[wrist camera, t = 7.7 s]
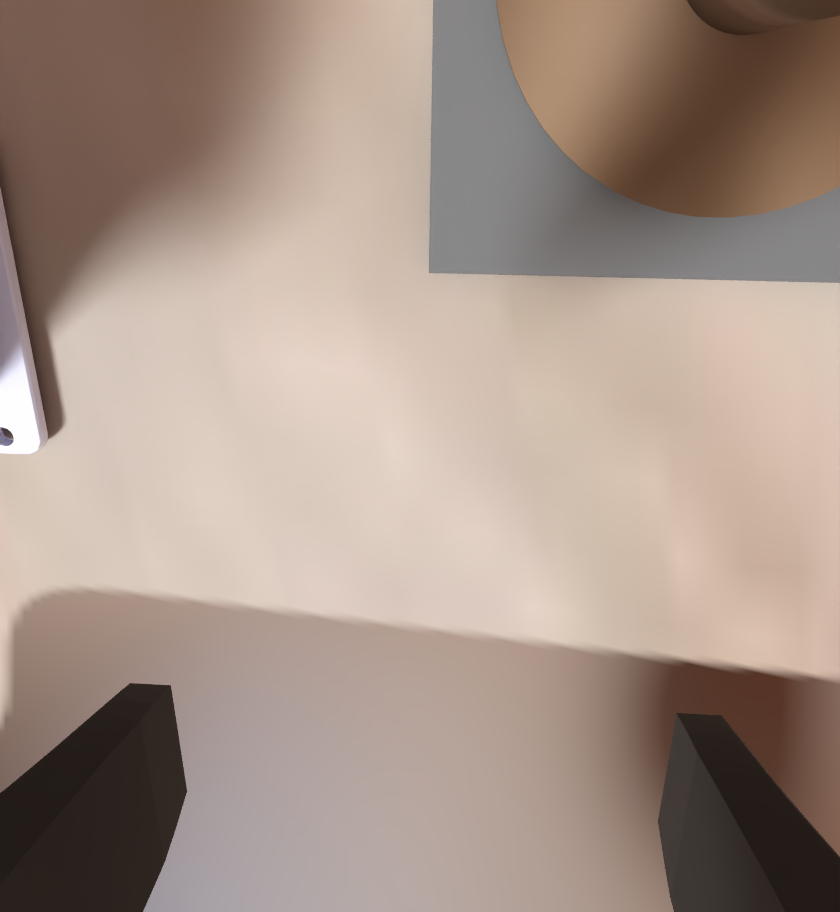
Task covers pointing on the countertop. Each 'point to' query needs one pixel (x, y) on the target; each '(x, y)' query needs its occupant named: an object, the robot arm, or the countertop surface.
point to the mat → (575, 191)
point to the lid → (686, 96)
